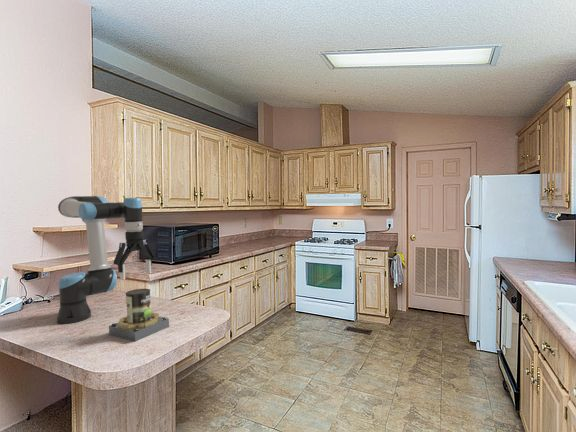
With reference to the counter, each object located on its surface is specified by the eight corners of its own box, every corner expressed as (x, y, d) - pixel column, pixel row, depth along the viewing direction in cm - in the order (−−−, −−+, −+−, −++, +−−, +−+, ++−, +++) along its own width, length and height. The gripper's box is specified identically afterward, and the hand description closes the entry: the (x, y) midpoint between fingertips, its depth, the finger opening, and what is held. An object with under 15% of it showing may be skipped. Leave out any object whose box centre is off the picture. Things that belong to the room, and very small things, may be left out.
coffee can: (156, 317, 154) (154, 288, 154) (142, 326, 144) (140, 294, 143) (137, 317, 156) (135, 288, 156) (122, 325, 146) (120, 294, 145)
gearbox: (109, 334, 146) (108, 321, 146) (143, 321, 162) (143, 309, 162) (135, 341, 138) (134, 327, 138) (169, 326, 154) (168, 314, 153)
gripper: (113, 233, 138) (115, 282, 139) (161, 228, 160) (163, 271, 161) (103, 233, 142) (105, 281, 143) (151, 228, 164) (153, 270, 165)
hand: (136, 276), depth 152 cm, fingers open, 13 cm apart
